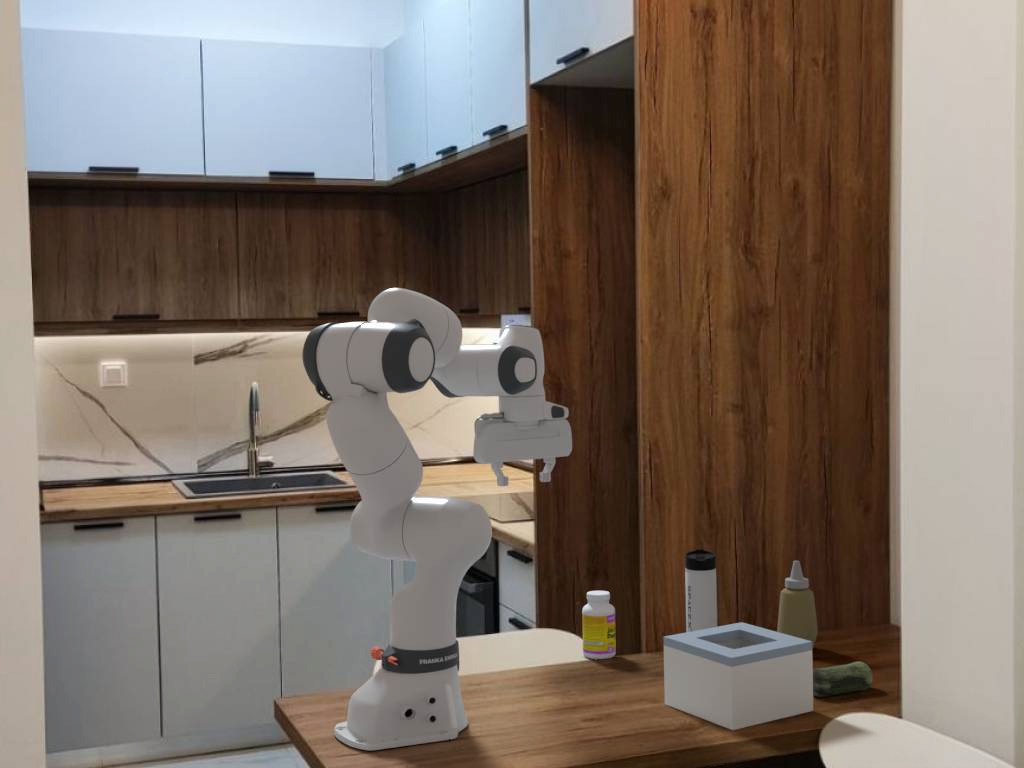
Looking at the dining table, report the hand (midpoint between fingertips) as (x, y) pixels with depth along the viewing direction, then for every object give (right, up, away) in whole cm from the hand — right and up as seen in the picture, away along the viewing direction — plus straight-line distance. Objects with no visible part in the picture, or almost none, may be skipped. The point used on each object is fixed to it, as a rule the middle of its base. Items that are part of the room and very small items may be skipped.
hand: (524, 483), depth 248 cm
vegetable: (+56, -37, -13) cm, 68 cm away
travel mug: (+37, -36, +20) cm, 55 cm away
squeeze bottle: (+56, -35, +18) cm, 68 cm away
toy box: (+37, -37, -21) cm, 56 cm away
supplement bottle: (+15, -36, +16) cm, 43 cm away
